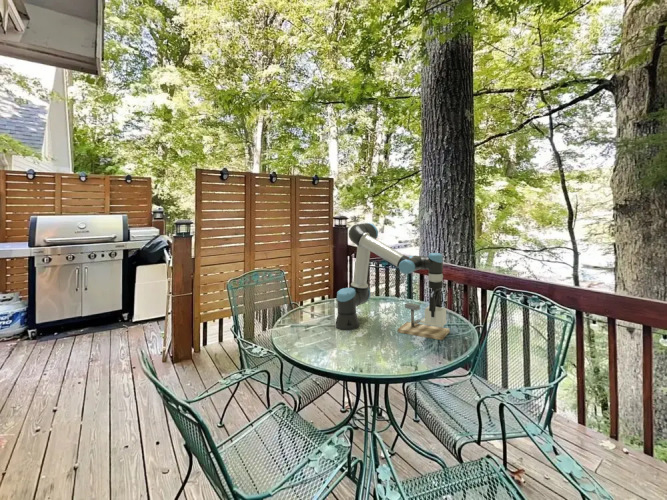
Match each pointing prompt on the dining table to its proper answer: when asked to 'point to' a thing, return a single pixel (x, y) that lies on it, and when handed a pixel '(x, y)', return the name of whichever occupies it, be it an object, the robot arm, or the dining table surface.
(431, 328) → the base plate
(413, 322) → the t key
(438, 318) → the cream rectangular block
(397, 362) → the dining table surface
